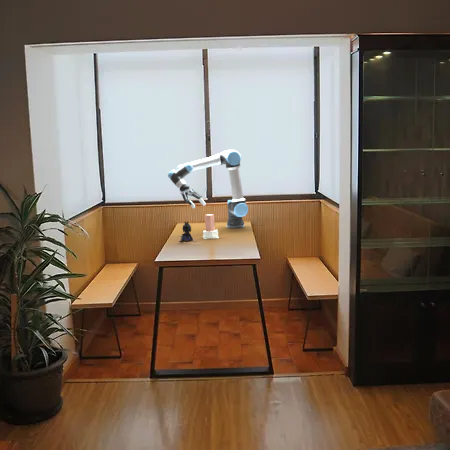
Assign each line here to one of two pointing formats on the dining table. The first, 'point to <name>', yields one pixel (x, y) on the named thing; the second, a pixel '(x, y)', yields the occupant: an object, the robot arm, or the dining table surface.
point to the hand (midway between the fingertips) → (199, 206)
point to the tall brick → (209, 222)
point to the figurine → (186, 232)
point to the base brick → (210, 234)
